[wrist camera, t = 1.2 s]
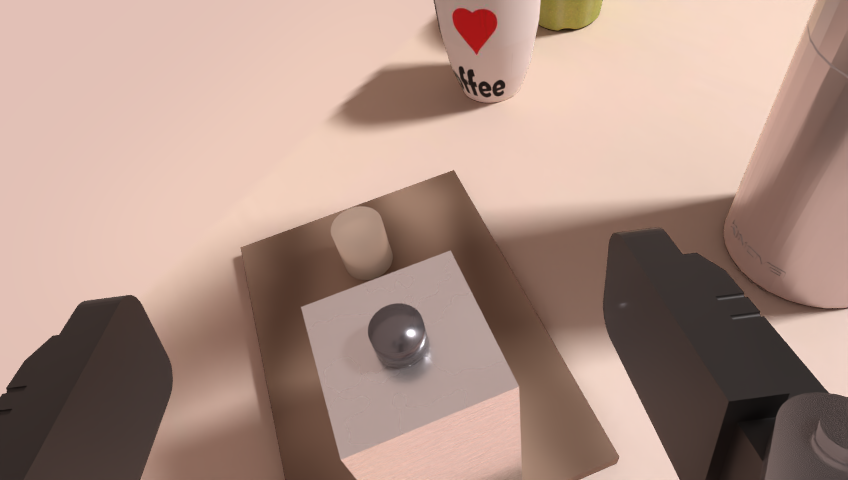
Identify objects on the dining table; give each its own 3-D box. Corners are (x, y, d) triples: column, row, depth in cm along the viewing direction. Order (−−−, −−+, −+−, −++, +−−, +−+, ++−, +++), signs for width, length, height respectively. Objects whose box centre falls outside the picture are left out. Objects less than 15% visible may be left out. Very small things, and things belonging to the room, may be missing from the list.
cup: (425, 88, 50) (406, -24, 42) (491, 43, 52) (484, -70, 45) (493, 128, 45) (486, 12, 38) (561, 77, 48) (568, -42, 40)
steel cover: (471, 368, 32) (447, 232, 23) (522, 479, 28) (518, 371, 19) (363, 412, 31) (291, 290, 22) (399, 532, 27) (330, 447, 18)
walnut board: (455, 179, 43) (453, 170, 42) (616, 463, 29) (619, 456, 28) (246, 256, 41) (240, 247, 40) (313, 594, 27) (307, 592, 26)
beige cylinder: (384, 234, 39) (373, 199, 36) (399, 269, 37) (388, 235, 34) (339, 250, 39) (325, 217, 36) (351, 287, 37) (337, 254, 34)
